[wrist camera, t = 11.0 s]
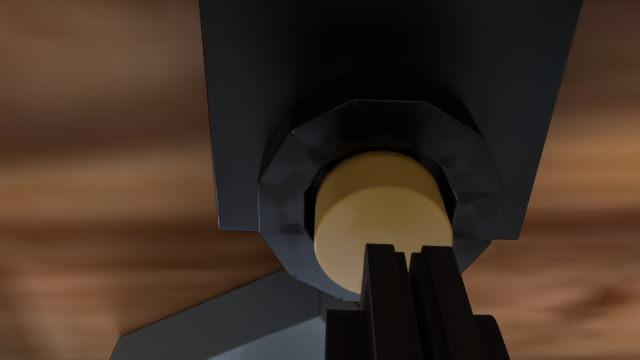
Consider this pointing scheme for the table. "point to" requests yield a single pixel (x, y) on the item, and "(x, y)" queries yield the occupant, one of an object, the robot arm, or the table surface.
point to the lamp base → (379, 108)
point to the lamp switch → (376, 212)
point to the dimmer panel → (241, 326)
